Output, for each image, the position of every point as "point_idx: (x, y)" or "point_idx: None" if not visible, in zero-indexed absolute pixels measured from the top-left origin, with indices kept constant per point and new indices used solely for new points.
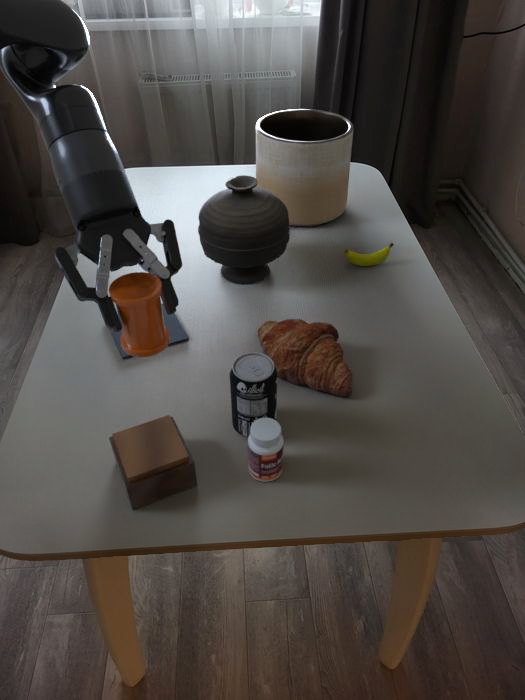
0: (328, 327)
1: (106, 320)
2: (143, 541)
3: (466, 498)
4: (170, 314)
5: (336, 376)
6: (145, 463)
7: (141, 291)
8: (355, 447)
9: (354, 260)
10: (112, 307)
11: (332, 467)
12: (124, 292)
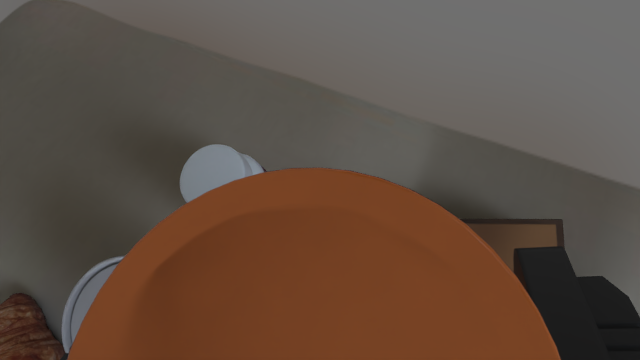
0: None
1: (629, 309)
2: (542, 164)
3: (51, 42)
4: None
5: (2, 324)
6: (501, 248)
7: (267, 300)
8: (105, 186)
9: None
10: (567, 345)
11: (163, 165)
12: None
